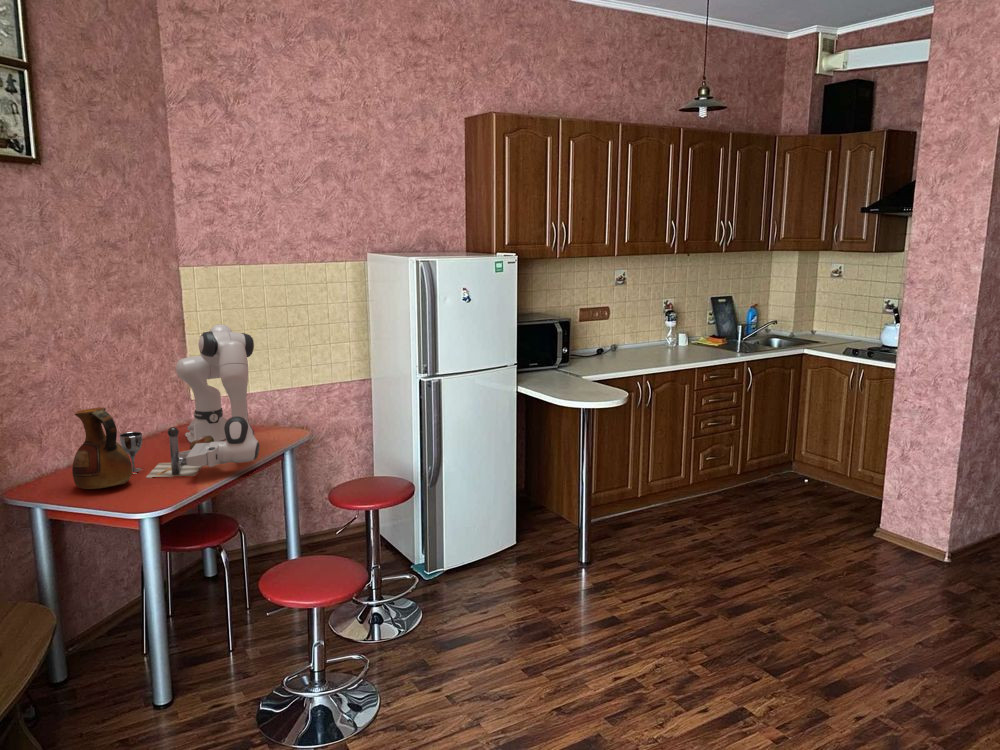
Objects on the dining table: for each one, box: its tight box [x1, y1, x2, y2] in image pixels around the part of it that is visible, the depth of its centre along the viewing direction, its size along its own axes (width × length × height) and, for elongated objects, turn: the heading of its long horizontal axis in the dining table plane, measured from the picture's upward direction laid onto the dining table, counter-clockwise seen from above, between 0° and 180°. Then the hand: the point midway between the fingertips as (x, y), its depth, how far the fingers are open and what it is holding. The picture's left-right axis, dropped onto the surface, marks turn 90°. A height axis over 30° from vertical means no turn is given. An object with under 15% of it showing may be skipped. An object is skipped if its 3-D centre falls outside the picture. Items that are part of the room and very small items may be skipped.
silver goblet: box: [119, 431, 143, 473], centre depth 303 cm, size 8×8×15 cm
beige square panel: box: [145, 462, 203, 479], centre depth 306 cm, size 18×18×1 cm
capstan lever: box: [167, 426, 187, 474], centre depth 305 cm, size 19×6×18 cm, turn 15°
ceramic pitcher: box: [71, 406, 133, 490], centre depth 283 cm, size 20×20×30 cm
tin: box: [189, 436, 214, 450], centre depth 323 cm, size 15×3×8 cm, turn 168°
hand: (178, 454), depth 298 cm, fingers closed, pressing on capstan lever
